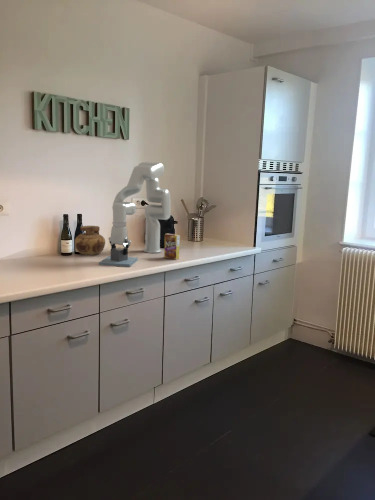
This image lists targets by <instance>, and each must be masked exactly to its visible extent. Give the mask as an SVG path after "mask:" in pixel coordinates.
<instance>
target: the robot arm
mask: <svg viewBox="0 0 375 500" xmlns="http://www.w3.org/2000/svg"><path fill="white" fill-rule="evenodd" d="M164 174H165V167H164V164H163V163H162V162H152V161H151V162H149V161H148V162H147V161H145V162H140V163H138V165H136V166H135V165H134V167H133V169H132V171H131V174H130V177H129V179H128V182H127V185H126V186H124V187H123V188H122V189H121V190H119V192H117V193H116V195H115V197H114V200H113V203H112V206H111V208H112V227H111V231H110V236H109V237H108V238H107V239H108V243H109V245H110V247H111V248H110V250H111V249H113V248H117V245H119V246H122V248H123V255H128V256H129V248H130V246H131V243H132V241H131V240H130V239H129V237H128V236H129V235H128V227H127V216H132V215H135V213H136V212H137V210H138V209H137V208H138V207H137V205H136V204H135V203H134V202H130V201H124V200H125V199H127V198H129V197H131V196H133V195H136V194H138V193H140V192H141V190H142V188H143V185H144V181H145V189H146V190H145V192H146V194H145V195H146V200H147V202H149V203H150V204H147V205H146V206H144V207H145V208H144V217H145V248H142V251H143V252H144V253H149V254H150V253H151V254H159V253H162V252H163V249H162V248H161V246H160V245H161V243H160V242H161V241H160V240H161V223H160V221H159V220H165V221H167V220H169V219H170V218H171V216H172V215H171V214H172V205H171V204H172V203H171V199H172V198H171V192H170V191H169V190H168V189H167V188H161V187H160V181H159V180H160V179H159V178H161V177H162V176H163V175H164ZM156 203H157V204H156Z"/></svg>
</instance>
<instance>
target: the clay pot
mask: <svg viewBox="0 0 375 500" xmlns="http://www.w3.org/2000/svg"><path fill="white" fill-rule="evenodd" d="M79 228H80V231H81V232H83V233H80V234H78V235H77V236H76V237H75V239H74V247H75V249H76V251H77V252H78V253H79V254H81V255H82V256H83V255H84V256H97V255H100V254H101V253H103V251H104V248H105V247H106V239H105V237H104V236H102V235H101V234H100V226H98V225H82V226H81V225H80V227H79Z"/></svg>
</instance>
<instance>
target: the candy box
mask: <svg viewBox="0 0 375 500" xmlns="http://www.w3.org/2000/svg"><path fill="white" fill-rule="evenodd" d="M180 239H181V235H180V234H175V233H165V234H164V247H163V248H164V251H163V252H164V255H163V258H164V259H172V260H176V261H177V260H179V259H180Z"/></svg>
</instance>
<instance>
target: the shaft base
mask: <svg viewBox="0 0 375 500" xmlns="http://www.w3.org/2000/svg"><path fill="white" fill-rule="evenodd" d="M138 261H139V257H134V256H132V257H131V256H128V260H125V261H120V262H118V261H114V260H111V255H108V256H106V257H105V258H104V259H102V260H100V261H99V262H98V265H99V266H109V267H110V266H111V267H123V268H124V267H125V268H127V267H128V268H130V267H132V266H133V265H134V264H135V263H137V262H138Z"/></svg>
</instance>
